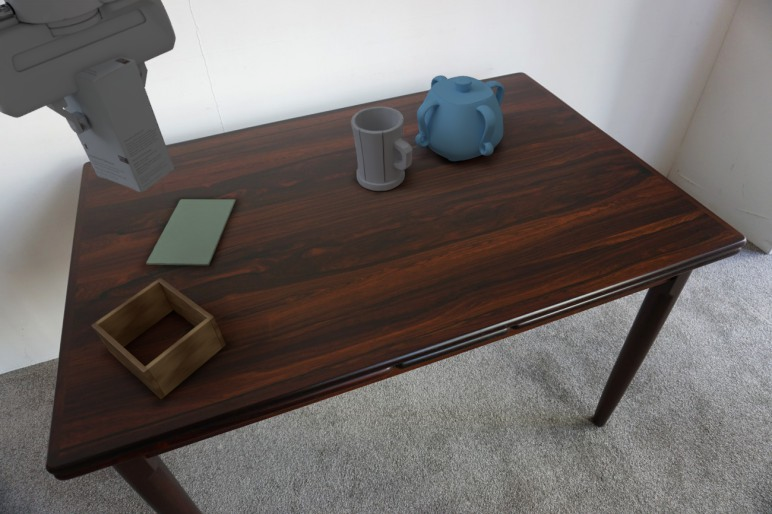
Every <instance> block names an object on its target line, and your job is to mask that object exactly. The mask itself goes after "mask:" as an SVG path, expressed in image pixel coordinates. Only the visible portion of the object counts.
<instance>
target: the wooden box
mask: <svg viewBox="0 0 772 514" xmlns="http://www.w3.org/2000/svg"><path fill="white" fill-rule="evenodd" d="M173 311H174V312H175V313H176V314H178V315H179V316H180V317H181V318H183V319H184V320H185V321H187V322H188V323H189V324H191V325H192V326H193V328H192V329H190V331H188V332H187V333H186V334H185V335H184V336H182V337H181V338H180V339H178V340H177V341H176V342H174V343H173V344H172V345H171V346H169V347H168V348H167V349H166V350H164V351H163V352H162V353H160V354H159V355H158V356H157V357H155V358H154V359H153V360H152V361H150V362H149V363H148V364H147V365H144V364H143V363H142V362H140V361H139V360H138V359H137V358H136V357H135V356H134V355H133V354H131V353H130V352H129V351H128V350H127V349H126V348H125V347H126V346H127V345H129V344H130V343H131V342H133V341H134V340H136V338H138V337H139V336H141V335H142V334H143V333H145V332H146V331H148V330H149V329H150V328H151V327H153V326H154V325H156V324H157V323H159V321H161V320H162V319H164V318H165V317H166V316H167V315H169V314H170V313H172V312H173ZM91 327H92V329H93V330H94V332H95V333H96V335H97V336H98V337H99V339H100V340H101V341H102V343H103V344H104V346H105V348H106V349H107V350H108V351H109V353H110V354H112V356H113V357H114V358H115V359H116V360H117V361H119V363H121V364H122V365H123V366H124V367H125V368H126V369H127V370H128V371H130V373H131V374H133V375H134V376H135V377H136V378H137V379H138V380H139V381H140V382H142V384H143V385H145V386H146V387H147V388H148V389H149V390H150V391H151V392H152V393H153V394H155V395H156V396H157V397H158V398H159V399H160V400H163V399H164V398H165V397H166V396H167V395H168V394H169V393H171V392H172V391H173V390H174V389H176V388H177V387H178V386H179V385H180V384H182V383H183V381H185V380H187V378H189V377H190V376H191V375H192V374H193V373H195V372H196V371H198V369H199V368H200V367H202V366H203V365H204V364H206V362H208V361H209V360H210V359H211V358H213V356H214V355H216V354H217V353H219V351H221V349H223V348H224V347H226V342H225V340H224V338H223V336H222V333H221V330H220V328H219V326H218V324H217V322H216V319H215V316H213V315H212V314H211V313H209V312H208V311H206V310H205V309H204V308H203V307H201V306H199V304H197V303H196V302H194V301H192V299H190V298H189V297H187V296H186V295H185V294H183V293H182V292H181V291H179V290H178V289H177V288H175V287H174V286H173V285H171V284H169V283H168V282H167V281H165V280H164V279H163V278H161V277H159V278H157V280H155V281H153V282H151V283H150V284H149V285H147V286H146V287H145V288H143V289H141V290H140V291H139V292H137V293H136V294H134V295H132V297H130V298H129V299H127V300H126V301H124V302H123V303H121V304H120V305H119V306H117V307H115V308H114V309H113V310H111V311H110V312H108V313H107V314H105V315H103V317H101V318H100V319H98V320H97V321H95V322H94V323H92V324H91Z"/></svg>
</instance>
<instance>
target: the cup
mask: <svg viewBox="0 0 772 514" xmlns="http://www.w3.org/2000/svg"><path fill="white" fill-rule="evenodd" d="M404 122H405V118H404V115H403V114H402V112H401V111H399V110H397V109H396V108H393V107H390V106H380V105H379V106H369V107H365V108H362V109H360V110H359V111H357V112H356V113H354V114H353V115H352V117H351V119H350V125H351V130H352V135H353V141H354V146H355V151H356V158H357V161H356V162H357V169H356V170H355V171H356V181H357V182H358V184H359V185H360V186H361V187H363V188H365V189H366V190H369V191H375V192H386V191H389V190H394V189H395V188H396V187H398V186H399V185H401V184H402V183H403V182H404V180H405V176H406V175H405V174H406V173H405V171H406V169H407V168H409V167H410V166H411V165H412V163H413V147H412V145H411V144H410V143H409V142H407V141H405V140H404V137H403V136H404Z"/></svg>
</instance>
